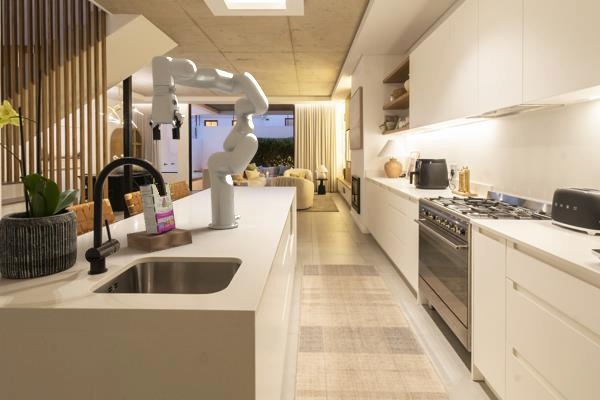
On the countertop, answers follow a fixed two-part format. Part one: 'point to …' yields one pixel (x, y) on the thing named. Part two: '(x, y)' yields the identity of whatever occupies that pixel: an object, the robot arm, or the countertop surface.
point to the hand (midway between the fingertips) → (166, 139)
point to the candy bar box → (157, 209)
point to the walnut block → (159, 240)
